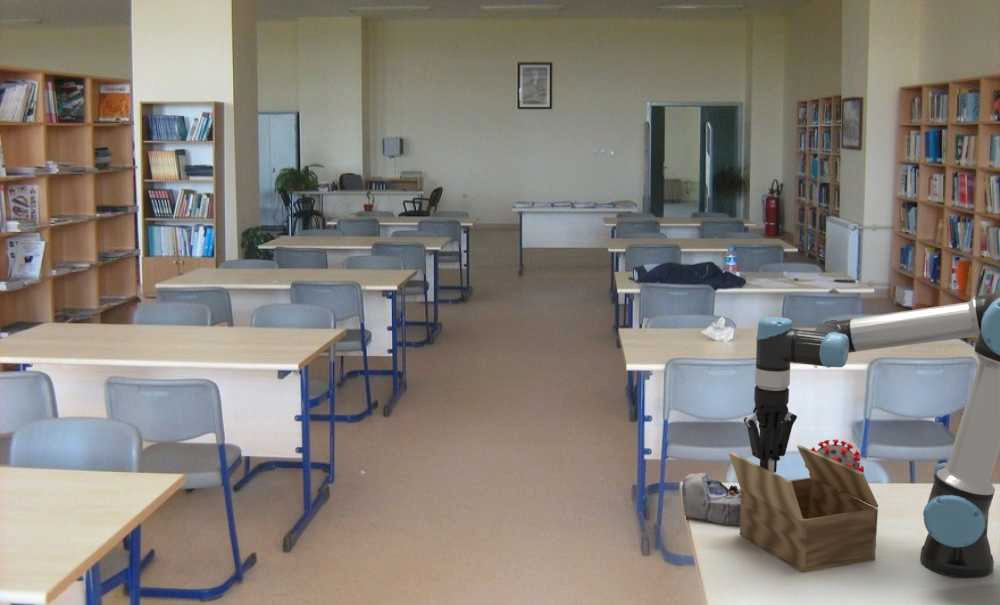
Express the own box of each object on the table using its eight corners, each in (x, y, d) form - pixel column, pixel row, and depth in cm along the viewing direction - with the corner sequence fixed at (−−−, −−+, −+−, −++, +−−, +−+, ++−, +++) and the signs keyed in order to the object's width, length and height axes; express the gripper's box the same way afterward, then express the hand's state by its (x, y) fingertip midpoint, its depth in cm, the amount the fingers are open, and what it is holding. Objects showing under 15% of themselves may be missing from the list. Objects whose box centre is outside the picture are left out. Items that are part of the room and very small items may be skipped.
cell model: (683, 465, 282) (763, 472, 278) (681, 506, 283) (761, 513, 279) (681, 481, 269) (765, 489, 265) (679, 523, 271) (762, 531, 267)
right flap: (876, 508, 247) (878, 506, 247) (861, 474, 244) (863, 472, 244) (811, 477, 268) (813, 476, 268) (796, 446, 265) (798, 444, 265)
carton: (874, 559, 249) (877, 509, 247) (801, 572, 241) (804, 520, 239) (808, 524, 271) (810, 477, 269) (739, 535, 263) (741, 487, 261)
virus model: (873, 500, 288) (876, 445, 285) (822, 505, 284) (825, 449, 281) (842, 483, 301) (845, 430, 299) (793, 487, 298) (796, 434, 295)
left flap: (791, 481, 237) (789, 482, 237) (803, 519, 240) (800, 521, 240) (731, 451, 258) (729, 453, 258) (742, 487, 261) (740, 488, 261)
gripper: (785, 379, 251) (781, 477, 256) (738, 384, 247) (733, 484, 251) (806, 387, 245) (800, 488, 249) (757, 393, 240) (752, 495, 244)
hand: (767, 486), depth 250 cm, fingers closed
